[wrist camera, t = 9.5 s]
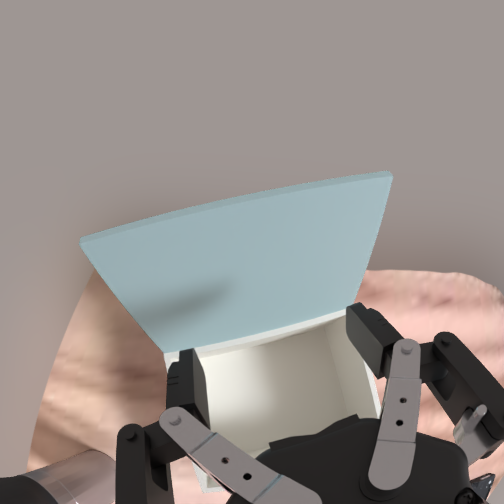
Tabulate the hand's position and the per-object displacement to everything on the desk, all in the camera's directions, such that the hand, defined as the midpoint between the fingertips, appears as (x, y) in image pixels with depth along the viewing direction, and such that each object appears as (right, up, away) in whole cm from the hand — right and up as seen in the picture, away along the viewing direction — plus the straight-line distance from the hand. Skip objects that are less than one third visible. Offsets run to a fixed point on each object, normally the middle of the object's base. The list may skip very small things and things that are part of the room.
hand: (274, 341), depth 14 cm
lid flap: (-1, +2, +7) cm, 8 cm away
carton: (+2, -15, +22) cm, 26 cm away
